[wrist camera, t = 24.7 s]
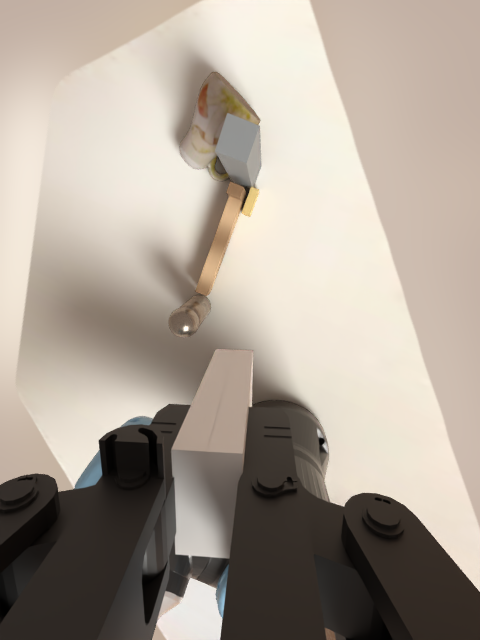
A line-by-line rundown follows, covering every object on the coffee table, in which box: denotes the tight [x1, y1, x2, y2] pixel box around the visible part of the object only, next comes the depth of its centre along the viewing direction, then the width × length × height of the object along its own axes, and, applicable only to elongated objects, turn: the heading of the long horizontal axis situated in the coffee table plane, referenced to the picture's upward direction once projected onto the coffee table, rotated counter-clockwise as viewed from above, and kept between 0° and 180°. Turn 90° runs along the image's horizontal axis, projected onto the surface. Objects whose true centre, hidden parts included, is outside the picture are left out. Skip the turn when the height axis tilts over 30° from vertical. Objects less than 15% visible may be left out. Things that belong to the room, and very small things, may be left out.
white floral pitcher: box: [179, 72, 260, 181], centre depth 38 cm, size 8×10×10 cm
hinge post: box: [168, 295, 211, 338], centre depth 41 cm, size 3×3×11 cm
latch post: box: [215, 113, 261, 217], centre depth 35 cm, size 6×4×15 cm, turn 159°
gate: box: [195, 182, 247, 296], centre depth 41 cm, size 14×2×6 cm, turn 159°
